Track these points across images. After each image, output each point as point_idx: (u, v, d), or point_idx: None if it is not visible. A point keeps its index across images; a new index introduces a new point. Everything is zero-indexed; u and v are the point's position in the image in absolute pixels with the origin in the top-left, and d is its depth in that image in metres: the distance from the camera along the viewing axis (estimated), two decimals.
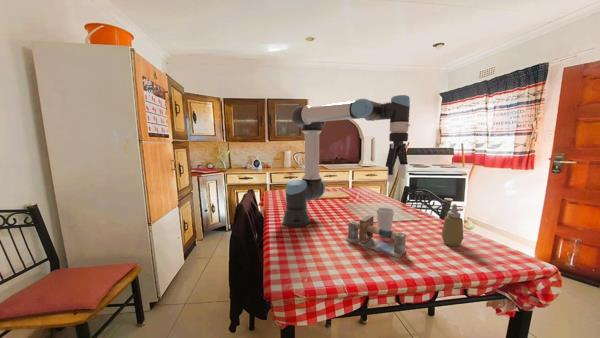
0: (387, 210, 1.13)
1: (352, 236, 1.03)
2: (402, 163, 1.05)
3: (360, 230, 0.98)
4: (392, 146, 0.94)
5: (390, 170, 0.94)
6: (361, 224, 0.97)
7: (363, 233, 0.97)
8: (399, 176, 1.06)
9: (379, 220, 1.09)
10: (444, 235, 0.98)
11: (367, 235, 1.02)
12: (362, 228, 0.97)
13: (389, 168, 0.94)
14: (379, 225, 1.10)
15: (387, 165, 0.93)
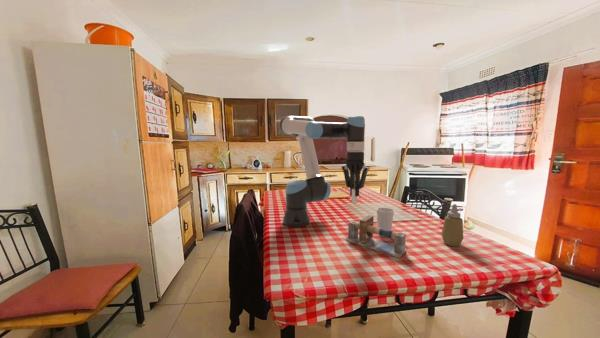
0: (387, 210, 1.13)
1: (352, 236, 1.03)
2: None
3: (360, 230, 0.98)
4: None
5: None
6: (361, 224, 0.97)
7: (363, 233, 0.97)
8: None
9: (379, 220, 1.09)
10: (444, 235, 0.98)
11: (367, 235, 1.02)
12: (362, 228, 0.97)
13: None
14: (379, 225, 1.10)
15: None
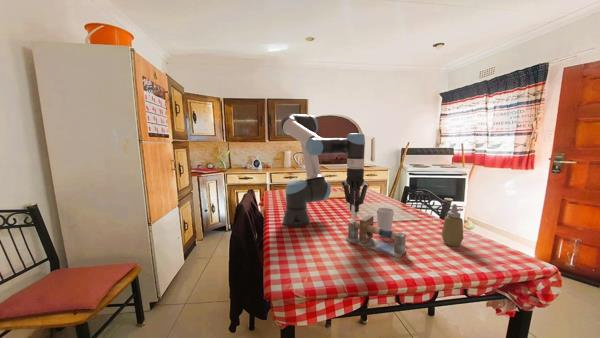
0: (387, 210, 1.13)
1: (352, 236, 1.03)
2: None
3: (360, 230, 0.98)
4: None
5: None
6: (361, 224, 0.97)
7: (363, 233, 0.97)
8: None
9: (379, 220, 1.09)
10: (444, 235, 0.98)
11: (367, 235, 1.02)
12: (362, 228, 0.97)
13: None
14: (379, 225, 1.10)
15: None
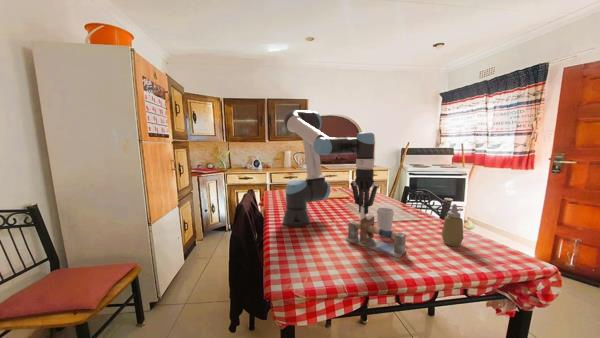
0: (387, 210, 1.13)
1: (352, 236, 1.03)
2: None
3: (361, 230, 0.97)
4: None
5: None
6: (362, 224, 0.97)
7: (364, 233, 0.97)
8: None
9: (379, 220, 1.09)
10: (444, 235, 0.98)
11: (368, 235, 1.01)
12: (363, 228, 0.97)
13: None
14: (379, 225, 1.10)
15: None
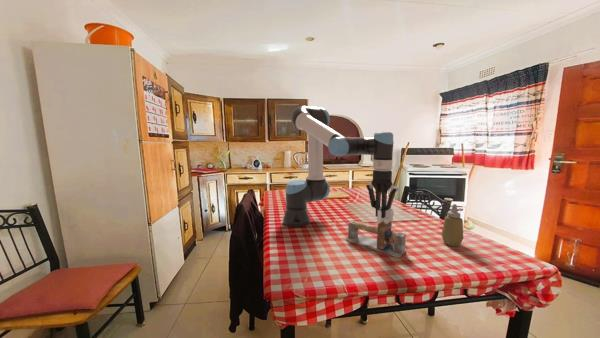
0: (387, 210, 1.13)
1: (352, 236, 1.03)
2: None
3: (378, 235, 0.92)
4: None
5: None
6: (379, 229, 0.92)
7: (381, 238, 0.91)
8: None
9: None
10: (444, 235, 0.98)
11: (385, 240, 0.96)
12: (380, 233, 0.92)
13: None
14: None
15: None
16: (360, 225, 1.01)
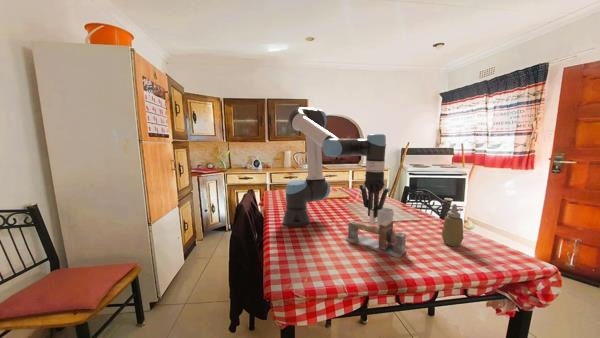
0: (387, 210, 1.13)
1: (352, 236, 1.03)
2: None
3: (380, 236, 0.92)
4: None
5: None
6: (381, 229, 0.91)
7: (383, 239, 0.91)
8: None
9: (379, 220, 1.09)
10: (444, 235, 0.98)
11: (386, 241, 0.96)
12: (382, 234, 0.91)
13: None
14: None
15: None
16: (360, 225, 1.01)
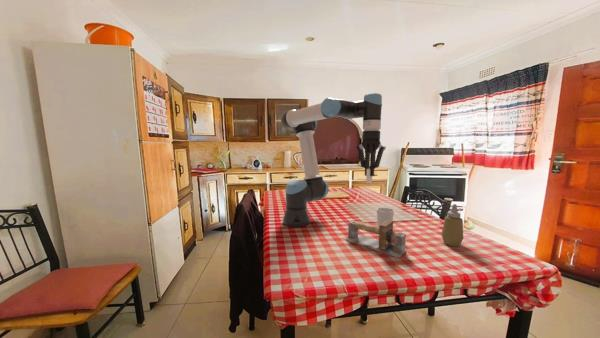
0: (387, 210, 1.13)
1: (352, 236, 1.03)
2: None
3: (380, 236, 0.92)
4: None
5: None
6: (381, 229, 0.91)
7: (383, 239, 0.91)
8: None
9: (379, 220, 1.09)
10: (444, 235, 0.98)
11: (386, 241, 0.96)
12: (382, 234, 0.91)
13: None
14: (379, 225, 1.10)
15: None
16: (360, 225, 1.01)
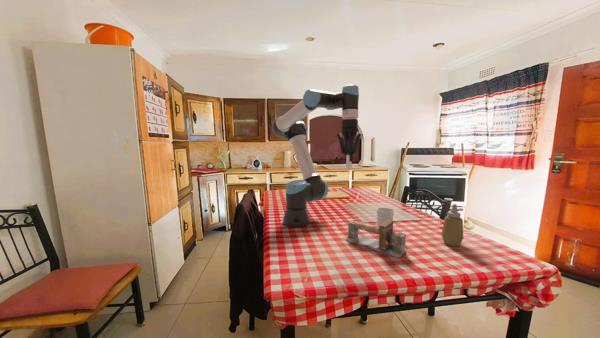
0: (387, 210, 1.13)
1: (352, 236, 1.03)
2: None
3: (380, 236, 0.92)
4: None
5: None
6: (381, 230, 0.91)
7: (383, 239, 0.91)
8: None
9: (379, 220, 1.09)
10: (444, 235, 0.98)
11: (387, 241, 0.96)
12: (382, 234, 0.91)
13: None
14: None
15: (343, 152, 1.12)
16: (360, 225, 1.01)
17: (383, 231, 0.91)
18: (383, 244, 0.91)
